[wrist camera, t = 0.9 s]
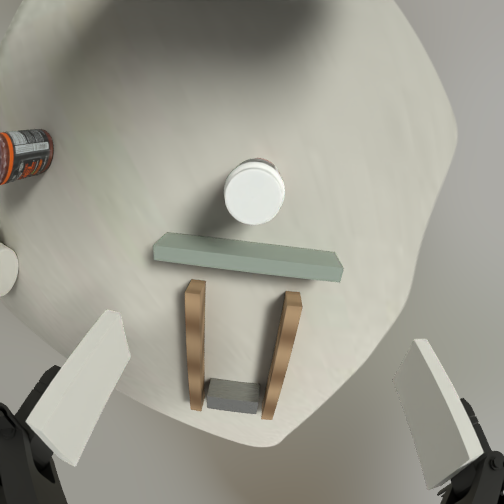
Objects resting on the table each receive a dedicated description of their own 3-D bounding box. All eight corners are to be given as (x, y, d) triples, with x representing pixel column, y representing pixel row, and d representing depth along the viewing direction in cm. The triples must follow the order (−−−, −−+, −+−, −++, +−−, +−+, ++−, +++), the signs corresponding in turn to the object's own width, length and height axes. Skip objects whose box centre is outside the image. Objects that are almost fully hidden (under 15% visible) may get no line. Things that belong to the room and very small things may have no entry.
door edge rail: (167, 232, 29) (153, 245, 25) (334, 252, 29) (343, 268, 25) (167, 245, 30) (153, 259, 26) (331, 264, 29) (340, 282, 26)
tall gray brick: (211, 378, 37) (207, 395, 34) (259, 384, 37) (258, 402, 34) (211, 390, 38) (207, 407, 35) (257, 396, 38) (256, 414, 35)
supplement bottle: (39, 182, 28) (-24, 205, 17) (23, 150, 26) (-39, 164, 15) (62, 151, 26) (-7, 165, 16) (44, 119, 24) (-22, 124, 14)
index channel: (191, 279, 31) (184, 292, 28) (299, 292, 31) (302, 306, 28) (194, 395, 39) (190, 409, 36) (272, 405, 39) (271, 419, 36)
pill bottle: (222, 178, 27) (204, 193, 19) (260, 148, 25) (256, 149, 18) (253, 214, 28) (247, 243, 20) (291, 185, 27) (300, 203, 19)
